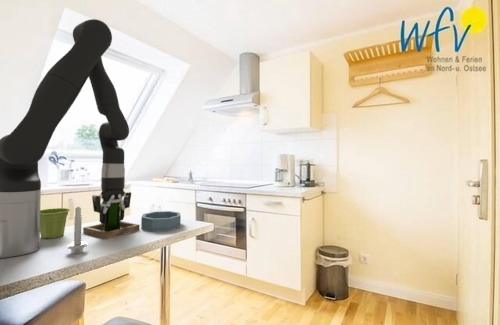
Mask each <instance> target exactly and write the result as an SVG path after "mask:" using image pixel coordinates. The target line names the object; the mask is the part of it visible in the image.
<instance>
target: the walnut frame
mask: <svg viewBox="0 0 500 325" xmlns="http://www.w3.org/2000/svg"><path fill="white" fill-rule="evenodd" d="M82 230H83V231H82V233H83V234H86V235H90V236H93V237H97V238H101V239H105V240H108V239H113V238H115V237H119V236H123V235H126V234H130V233H133V232H136V231H137V232H138V231H140V224H137V223H133V222H129V221H128V222H127V221H123V220H121V223H120V229H117V230H113V231H109V232H106V231H104V224H101V223H97V224H93V225H89V226H84V227H83V228H82Z"/></svg>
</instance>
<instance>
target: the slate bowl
mask: <svg viewBox="0 0 500 325" xmlns="http://www.w3.org/2000/svg"><path fill="white" fill-rule="evenodd" d="M140 221H141V224H140V225H141V227H140V229H141V230H144V231H148V232H164V231H165V232H167V231H168V232H169V231H173V230H175V229H179V228H181V221H182V220H181V213H180V212H179V211H178V212H177V211H172V210H169V211H168V210H162V211H161V210H160V211H159V210H158V211H151V212H147V213H143V214H142V215H141V220H140Z"/></svg>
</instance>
